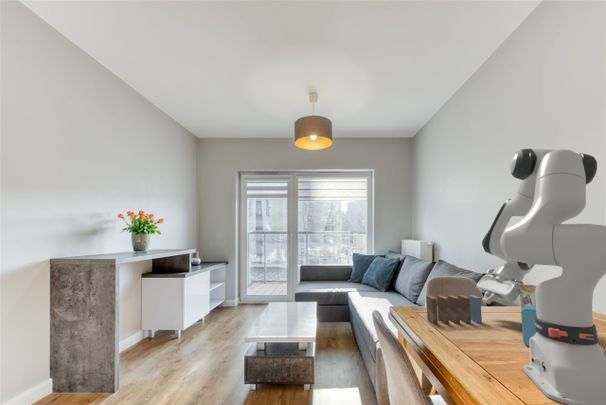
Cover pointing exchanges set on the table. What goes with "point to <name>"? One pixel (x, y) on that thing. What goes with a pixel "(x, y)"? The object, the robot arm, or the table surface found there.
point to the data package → (528, 323)
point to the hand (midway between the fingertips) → (485, 302)
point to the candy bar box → (527, 295)
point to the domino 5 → (475, 308)
